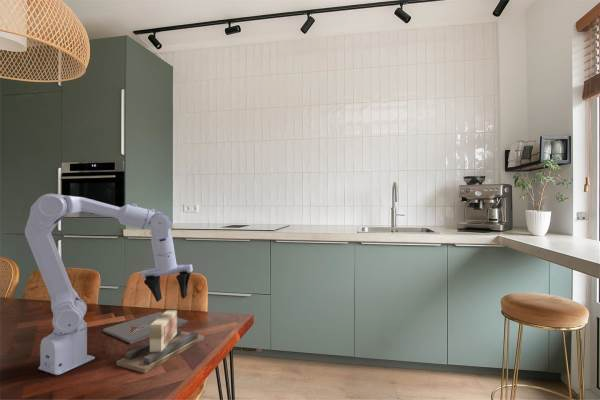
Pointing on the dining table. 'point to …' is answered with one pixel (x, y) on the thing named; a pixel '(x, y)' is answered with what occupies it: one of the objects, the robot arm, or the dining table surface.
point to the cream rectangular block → (163, 330)
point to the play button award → (124, 328)
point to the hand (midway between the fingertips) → (171, 298)
